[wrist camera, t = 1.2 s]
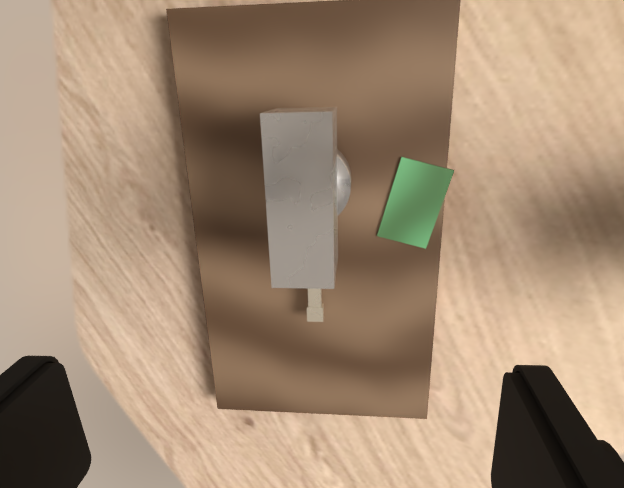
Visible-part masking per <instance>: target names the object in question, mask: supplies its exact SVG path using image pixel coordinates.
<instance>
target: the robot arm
mask: <svg viewBox="0 0 624 488" xmlns="http://www.w3.org/2000/svg"><path fill="white" fill-rule="evenodd" d="M90 464H91V454H90V450H89V447H88V443H87V440H86V437H85V433H84V431H83V427H82V424H81V420H80V417H79V414H78V411H77V408H76V404H75V401H74V397H73V394H72V391H71V388H70V385H69V381H68V378H67V374H66V371H65V368H64V366H63V365H62V364H60V363H59V362H58V360H57V359H56V358H55V357H52V356H25V357H22V358H21V359H19V360H18V361H17V362H16V363H14V364H13V365H12V366H11V367H10V368H8V369H7V370H6V371H5V372H3V373H2V374H1V375H0V488H77V487H78V485H79V484H80V482H81V481H82V480H83V478H84V476H85V475H86V474H87V472H88V470H89V467H90ZM491 484H492V488H624V462H623V461H622V459H621V458H620V456H619V455H618V453H617V452H616V451H615V450H614V448H613V447H612V446H611V445H610V444H609V443H607V442H606V441H604V440H597V438H596V437H595V435H594V434H593V432H592V431H591V429H590V428H589V426H588V425H587V423H586V421H585V420H584V418H583V417H582V415H581V414H580V412H579V411H578V409H577V408H576V406H575V405H574V403H573V402H572V400H571V399H570V397H569V396H568V394H567V393H566V391H565V390H564V388H563V387H562V385H561V384H560V382H559V381H558V379H557V378H556V376H555V375H554V373H553V371H552V370H551V369H550V368H549V367H548V366H541V365H516V366H515V367H514V369H513V372H512V373H508V372H506V373H505V374H504V377H503V383H502V391H501V399H500V407H499V415H498V423H497V431H496V439H495V446H494V454H493V462H492V470H491Z"/></svg>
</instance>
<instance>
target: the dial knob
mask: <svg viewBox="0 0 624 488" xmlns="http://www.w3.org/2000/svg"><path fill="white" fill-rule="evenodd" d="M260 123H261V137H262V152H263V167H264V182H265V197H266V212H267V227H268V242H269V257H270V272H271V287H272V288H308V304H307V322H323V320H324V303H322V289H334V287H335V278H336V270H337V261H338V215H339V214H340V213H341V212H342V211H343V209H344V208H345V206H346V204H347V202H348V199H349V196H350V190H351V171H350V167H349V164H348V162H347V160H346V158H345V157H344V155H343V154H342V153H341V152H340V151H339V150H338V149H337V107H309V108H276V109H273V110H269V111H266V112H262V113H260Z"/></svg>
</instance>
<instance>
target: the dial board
mask: <svg viewBox="0 0 624 488" xmlns="http://www.w3.org/2000/svg"><path fill="white" fill-rule="evenodd" d="M166 10H167V18H168V25H169V33H170V41H171V49H172V57H173V64H174V72H175V80H176V88H177V96H178V103H179V111H180V119H181V127H182V135H183V142H184V150H185V158H186V166H187V174H188V181H189V189H190V197H191V205H192V213H193V220H194V228H195V236H196V244H197V252H198V259H199V267H200V275H201V283H202V291H203V298H204V306H205V314H206V322H207V330H208V337H209V345H210V353H211V361H212V369H213V376H214V384H215V392H216V400H217V408H218V409H234V410H255V411H275V412H296V413H316V414H337V415H358V416H378V417H399V418H419V419H427V411H428V398H429V386H430V373H431V361H432V348H433V336H434V323H435V311H436V298H437V286H438V273H439V261H440V248H441V236H442V223H443V211H444V198H445V195H446V192H447V189H448V186H449V184H450V181H451V178H452V175H453V173H454V170H451V169H447V161H448V148H449V136H450V123H451V111H452V98H453V86H454V73H455V61H456V48H457V36H458V23H459V11H460V0H338V1H318V2H298V3H278V4H258V5H238V6H218V7H198V8H178V9H166ZM309 107H337V149H338V150H339V151H340V152H341V153H342V154H343V155H344V157H345V158H346V160H347V162H348V164H349V167H350V171H351V190H350V196H349V199H348V202H347V204H346V206H345V208H344V209H343V211H342V212H341V213H340V214H339V215H338V261H337V270H336V278H335V287H334V289H322V303H324V320H323V322H307V304H308V288H272V287H271V272H270V257H269V242H268V227H267V212H266V197H265V182H264V167H263V152H262V137H261V123H260V113H262V112H266V111H269V110H273V109H276V108H309Z"/></svg>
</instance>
